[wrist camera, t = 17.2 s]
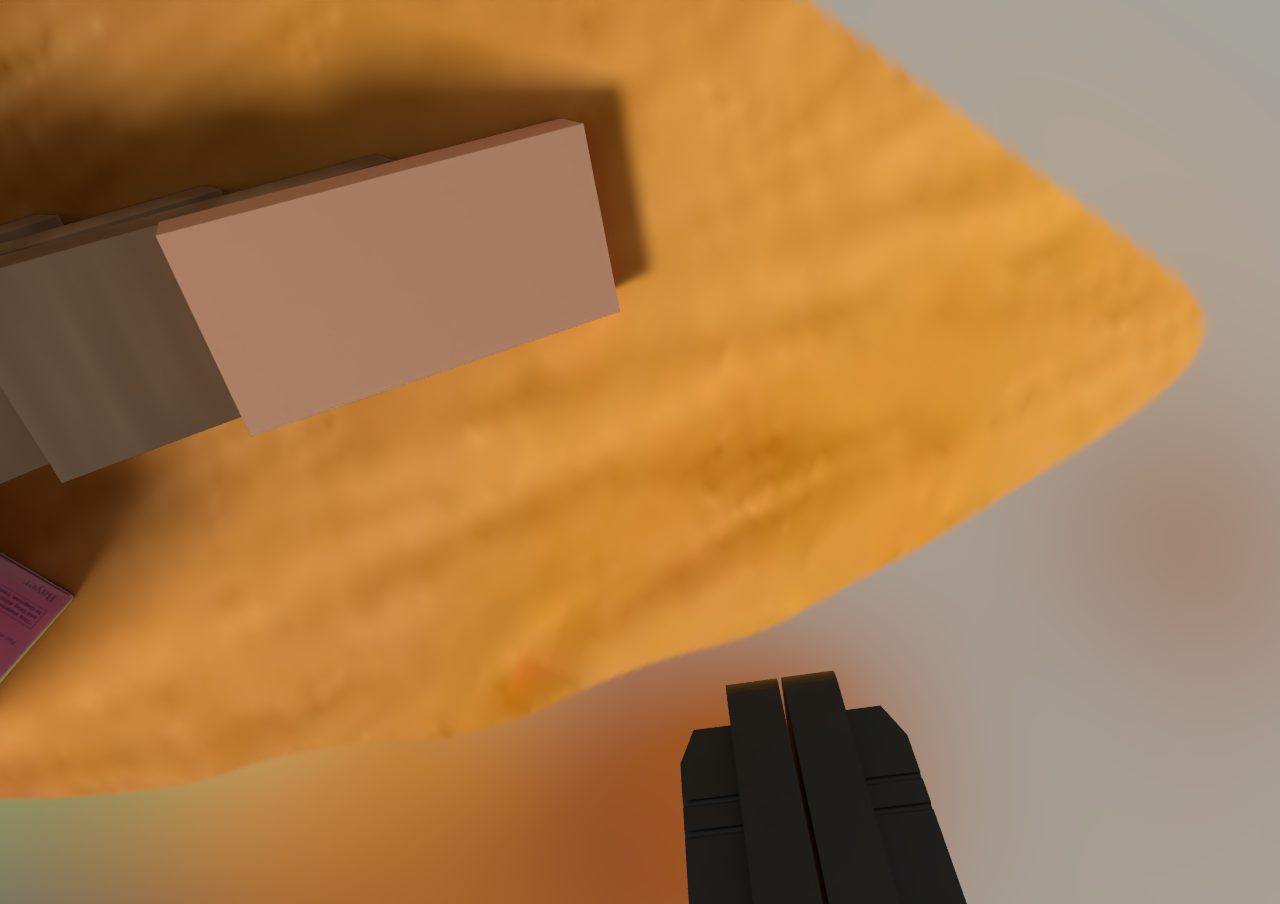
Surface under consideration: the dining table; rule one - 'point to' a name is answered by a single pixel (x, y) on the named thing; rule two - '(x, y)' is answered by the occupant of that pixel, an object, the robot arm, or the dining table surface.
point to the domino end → (394, 270)
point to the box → (25, 610)
